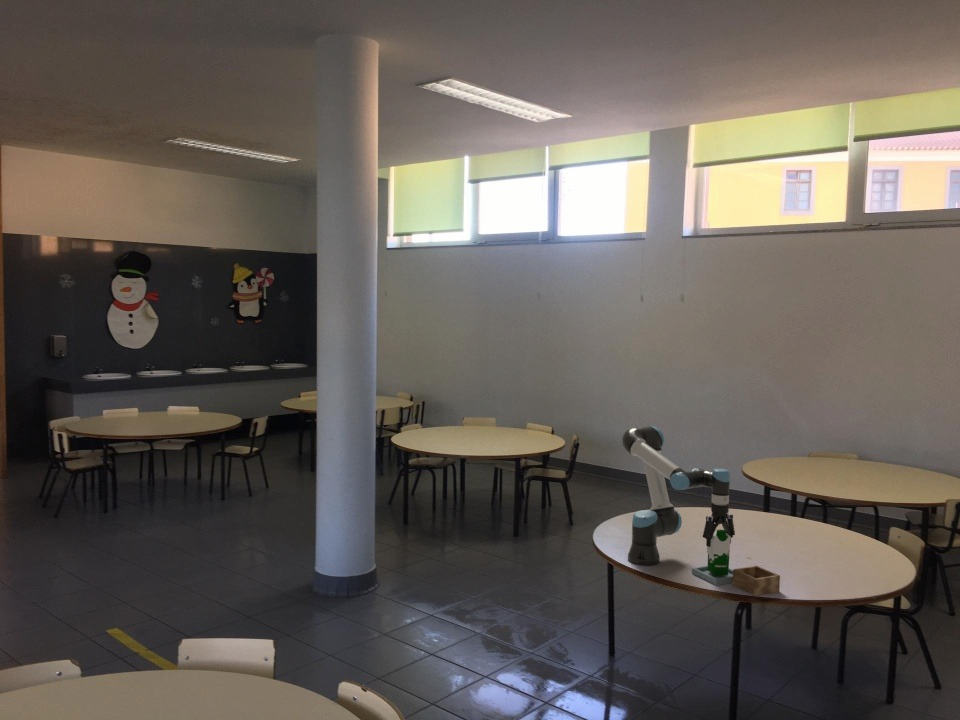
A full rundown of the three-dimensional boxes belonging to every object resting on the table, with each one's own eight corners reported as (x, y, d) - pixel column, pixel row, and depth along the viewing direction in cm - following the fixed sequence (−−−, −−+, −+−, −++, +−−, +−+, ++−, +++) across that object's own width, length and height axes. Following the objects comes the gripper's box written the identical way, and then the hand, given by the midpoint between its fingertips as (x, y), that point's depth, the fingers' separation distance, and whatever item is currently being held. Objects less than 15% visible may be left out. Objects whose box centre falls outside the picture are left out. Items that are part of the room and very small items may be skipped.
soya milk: (711, 576, 322) (713, 532, 321) (704, 569, 331) (706, 526, 330) (730, 576, 322) (733, 532, 321) (723, 569, 332) (725, 526, 330)
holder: (755, 595, 305) (756, 579, 304) (732, 584, 317) (733, 569, 317) (779, 591, 310) (779, 575, 310) (755, 580, 323) (756, 565, 322)
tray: (716, 585, 316) (716, 579, 316) (691, 573, 331) (692, 568, 331) (744, 580, 323) (744, 575, 323) (719, 569, 337) (719, 563, 337)
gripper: (706, 507, 317) (704, 557, 318) (744, 503, 326) (743, 551, 327) (695, 503, 324) (693, 552, 325) (732, 499, 333) (731, 546, 334)
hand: (718, 552), depth 326 cm, fingers closed on soya milk, 9 cm apart
